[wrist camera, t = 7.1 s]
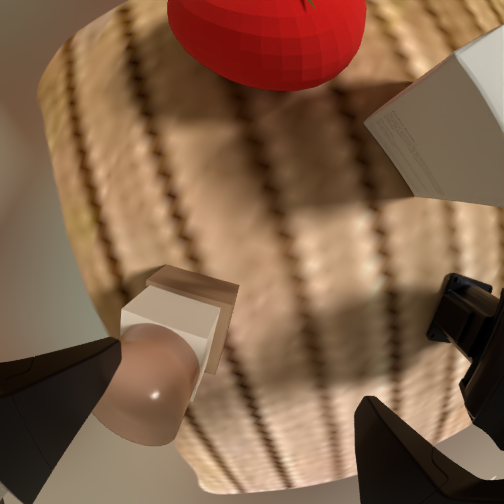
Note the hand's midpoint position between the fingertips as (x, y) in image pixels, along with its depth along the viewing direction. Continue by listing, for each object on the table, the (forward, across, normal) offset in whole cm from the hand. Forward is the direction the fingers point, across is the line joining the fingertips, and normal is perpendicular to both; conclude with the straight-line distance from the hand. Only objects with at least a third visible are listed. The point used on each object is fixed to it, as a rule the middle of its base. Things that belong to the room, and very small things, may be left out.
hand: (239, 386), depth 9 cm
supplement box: (+13, -10, -14) cm, 21 cm away
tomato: (+13, +3, -18) cm, 22 cm away
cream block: (+9, +5, +4) cm, 11 cm away
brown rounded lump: (+5, +5, +4) cm, 8 cm away
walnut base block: (+13, +5, +4) cm, 14 cm away
